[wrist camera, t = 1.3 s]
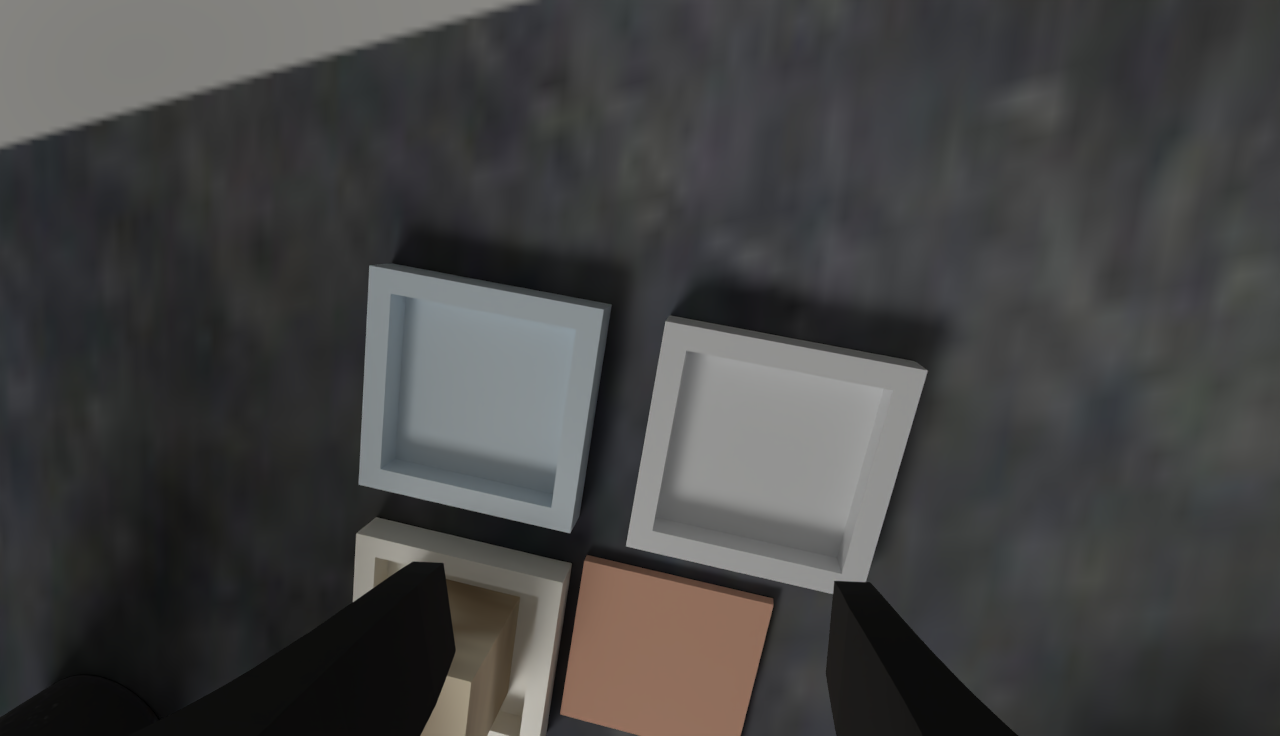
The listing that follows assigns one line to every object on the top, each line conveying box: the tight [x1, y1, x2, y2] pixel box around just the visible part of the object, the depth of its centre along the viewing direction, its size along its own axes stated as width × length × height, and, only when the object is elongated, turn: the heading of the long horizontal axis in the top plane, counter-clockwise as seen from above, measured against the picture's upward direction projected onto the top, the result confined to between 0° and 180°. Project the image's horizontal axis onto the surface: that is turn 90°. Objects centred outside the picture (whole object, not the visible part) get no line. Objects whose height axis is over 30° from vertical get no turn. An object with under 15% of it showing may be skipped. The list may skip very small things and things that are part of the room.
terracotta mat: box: [560, 555, 774, 736], centre depth 23 cm, size 7×7×1 cm
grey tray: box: [626, 315, 928, 594], centre depth 20 cm, size 8×8×1 cm
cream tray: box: [353, 517, 572, 736], centre depth 24 cm, size 8×8×1 cm
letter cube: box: [421, 579, 520, 736], centre depth 22 cm, size 4×4×5 cm
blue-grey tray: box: [359, 263, 612, 533], centre depth 21 cm, size 8×8×1 cm
